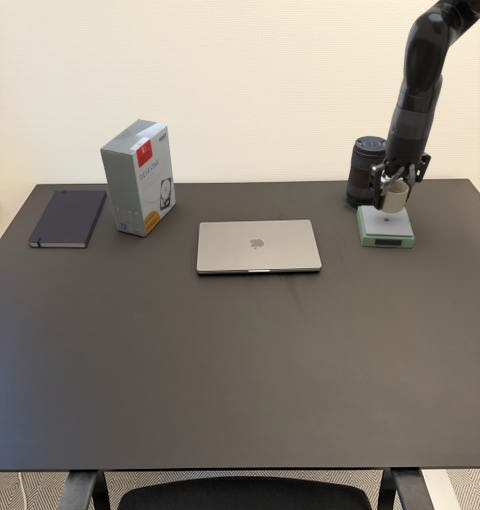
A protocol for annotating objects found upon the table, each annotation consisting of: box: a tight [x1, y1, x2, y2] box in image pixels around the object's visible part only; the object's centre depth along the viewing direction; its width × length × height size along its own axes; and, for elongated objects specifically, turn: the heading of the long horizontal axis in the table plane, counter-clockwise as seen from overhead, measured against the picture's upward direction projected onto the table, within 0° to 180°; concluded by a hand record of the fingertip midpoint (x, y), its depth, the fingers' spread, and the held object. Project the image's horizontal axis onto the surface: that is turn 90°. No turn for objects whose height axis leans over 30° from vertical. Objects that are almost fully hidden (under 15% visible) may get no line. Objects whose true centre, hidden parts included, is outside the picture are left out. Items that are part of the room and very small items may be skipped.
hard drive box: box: [99, 118, 177, 238], centre depth 104 cm, size 16×8×20 cm, turn 158°
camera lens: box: [345, 135, 387, 209], centre depth 110 cm, size 8×8×15 cm
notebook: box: [28, 189, 108, 249], centre depth 110 cm, size 13×2×21 cm
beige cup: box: [381, 178, 409, 214], centre depth 101 cm, size 6×6×5 cm
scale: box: [356, 206, 416, 249], centre depth 106 cm, size 11×12×3 cm
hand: (389, 204), depth 102 cm, fingers closed on beige cup, 6 cm apart
